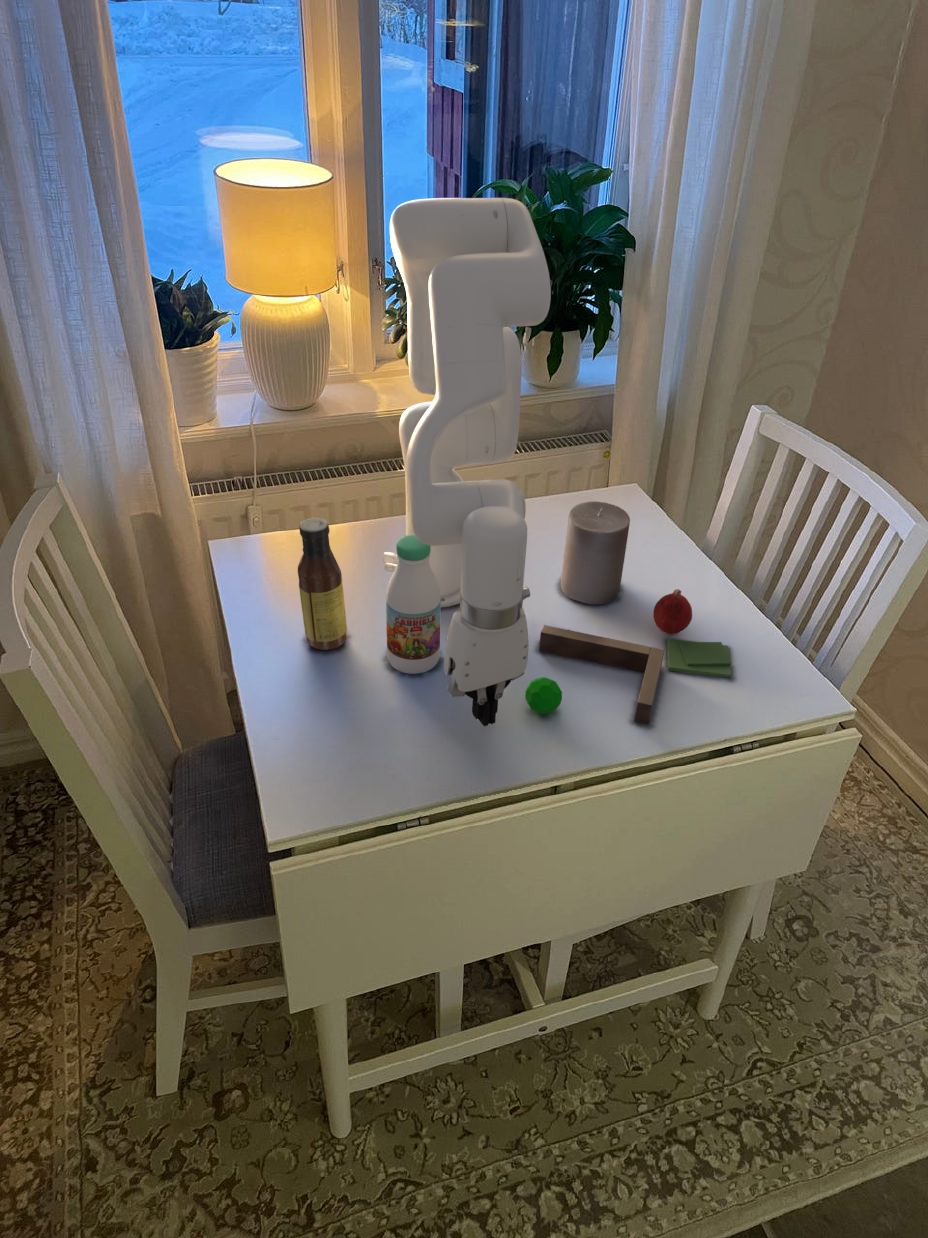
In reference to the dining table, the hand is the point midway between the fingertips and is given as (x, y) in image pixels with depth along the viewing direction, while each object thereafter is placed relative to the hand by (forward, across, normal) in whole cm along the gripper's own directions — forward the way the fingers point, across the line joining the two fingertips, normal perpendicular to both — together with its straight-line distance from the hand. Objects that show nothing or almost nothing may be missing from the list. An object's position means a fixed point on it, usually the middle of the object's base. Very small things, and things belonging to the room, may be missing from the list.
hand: (484, 718), depth 124 cm
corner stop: (+2, -19, -2) cm, 19 cm away
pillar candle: (+2, -32, -22) cm, 39 cm away
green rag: (+2, -36, 0) cm, 36 cm away
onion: (+2, -36, -7) cm, 37 cm away
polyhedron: (+2, -9, 0) cm, 10 cm away
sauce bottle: (+2, +12, -28) cm, 30 cm away
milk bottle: (+2, +2, -18) cm, 18 cm away
